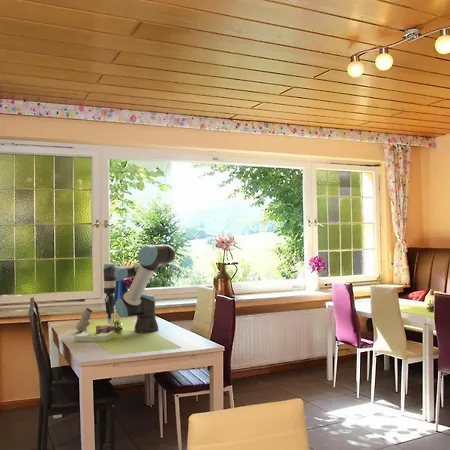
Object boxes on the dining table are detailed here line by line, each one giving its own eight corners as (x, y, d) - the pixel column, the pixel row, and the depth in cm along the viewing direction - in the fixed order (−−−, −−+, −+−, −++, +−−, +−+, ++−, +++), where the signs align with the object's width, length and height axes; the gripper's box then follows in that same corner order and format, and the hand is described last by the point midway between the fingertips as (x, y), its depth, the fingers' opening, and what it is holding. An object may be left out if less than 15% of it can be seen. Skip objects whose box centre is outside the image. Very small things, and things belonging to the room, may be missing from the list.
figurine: (88, 333, 334) (87, 309, 334) (73, 332, 336) (73, 309, 336) (94, 330, 343) (94, 307, 343) (80, 330, 345) (79, 307, 345)
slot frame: (114, 336, 322) (114, 331, 322) (105, 341, 307) (105, 336, 307) (84, 336, 324) (84, 331, 324) (74, 341, 310) (74, 336, 310)
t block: (116, 331, 337) (116, 325, 337) (110, 335, 325) (110, 328, 325) (98, 331, 338) (98, 325, 338) (91, 335, 326) (91, 328, 327)
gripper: (107, 286, 351) (108, 321, 351) (100, 288, 338) (101, 325, 338) (118, 286, 350) (118, 321, 350) (111, 288, 337) (112, 325, 337)
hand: (110, 323), depth 344 cm, fingers closed
